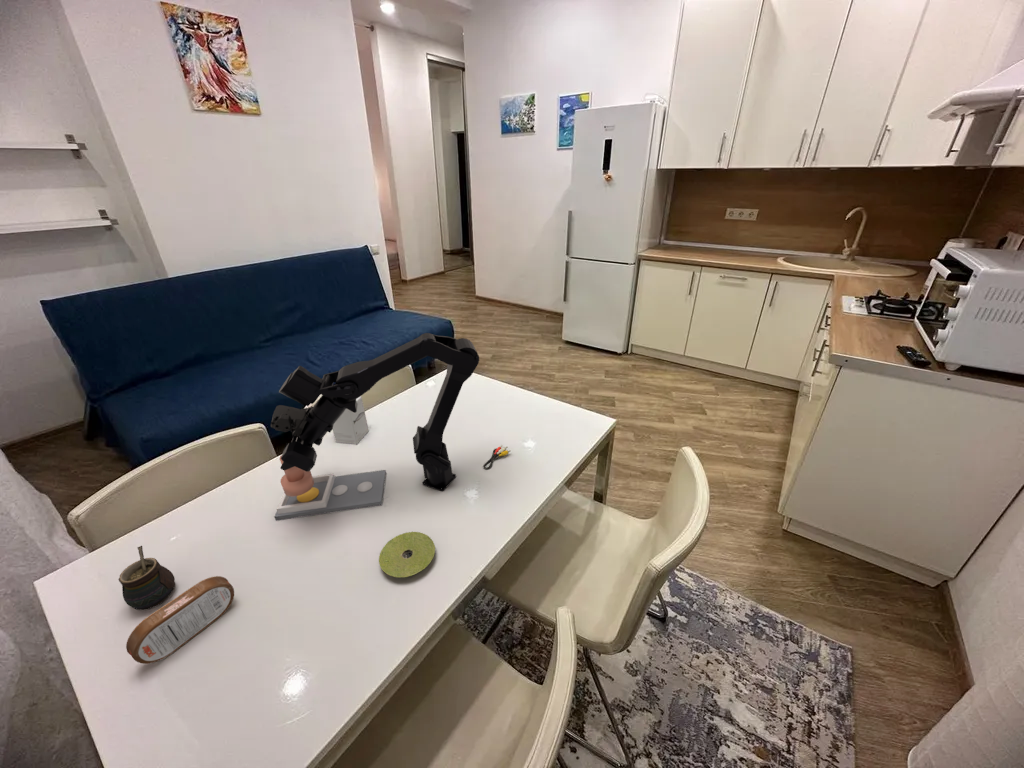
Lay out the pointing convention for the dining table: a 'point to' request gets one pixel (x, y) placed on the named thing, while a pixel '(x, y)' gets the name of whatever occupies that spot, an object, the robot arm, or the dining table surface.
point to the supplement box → (351, 425)
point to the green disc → (407, 554)
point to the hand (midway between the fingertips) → (284, 463)
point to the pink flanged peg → (296, 481)
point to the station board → (334, 495)
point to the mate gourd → (146, 583)
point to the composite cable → (496, 456)
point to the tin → (180, 620)
